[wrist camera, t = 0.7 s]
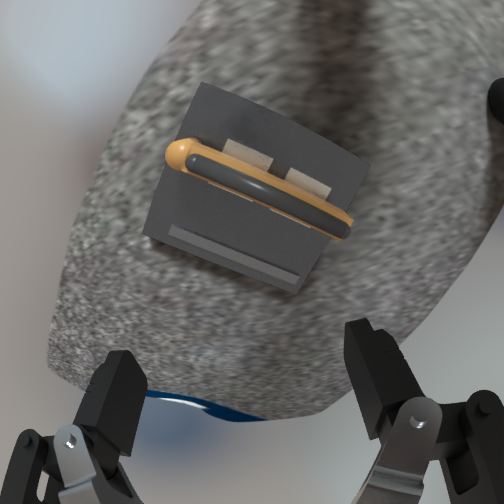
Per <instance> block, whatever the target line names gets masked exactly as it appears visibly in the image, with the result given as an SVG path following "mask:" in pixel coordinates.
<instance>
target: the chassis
mask: <svg viewBox="0 0 504 504" xmlns="http://www.w3.org/2000/svg"><path fill="white" fill-rule="evenodd" d="M190 137H193V138H196V139H198V140H200V141H201V143H202V145H205V146H207V147H210V148H212V149H215V150H217V151H219V152H222V153H224V154H227V155H229V156H231V157H234V158H236V159H238V160H240V161H243V162H245V163H247V164H250V165H252V166H254V167H256V168H258V169H261V170H263V171H265V172H267V173H269V174H271V175H274V176H276V177H278V178H280V179H282V180H284V181H286V182H288V183H290V184H292V185H294V186H297V187H299V188H301V189H303V190H305V191H307V192H309V193H311V194H313V195H315V196H317V197H318V198H320V199H322V200H324V201H326V202H328V203H330V204H332V205H334V206H336V207H338V208H339V209H341V210H343V211H344V212H346V210H347V209H348V207H349V205H350V203H351V201H352V200H353V198H354V196H355V194H356V192H357V191H358V189H359V187H360V185H361V183H362V181H363V179H364V178H365V176H366V174H367V172H368V170H369V168H370V166H371V165H369V164H368V163H366V162H365V161H363V160H361V159H360V158H358V157H357V156H355V155H353V154H352V153H350V152H348V151H347V150H345V149H343V148H342V147H340V146H338V145H337V144H335V143H333V142H331V141H330V140H328V139H326V138H324V137H323V136H321V135H319V134H317V133H315V132H313V131H312V130H310V129H308V128H306V127H304V126H302V125H300V124H298V123H296V122H294V121H292V120H290V119H288V118H286V117H284V116H282V115H280V114H278V113H276V112H274V111H272V110H270V109H267V108H265V107H263V106H261V105H259V104H256V103H254V102H252V101H249V100H247V99H245V98H242V97H240V96H238V95H235V94H233V93H230V92H228V91H225V90H223V89H220V88H217V87H215V86H212V85H209V84H207V83H204V82H201V84H200V86H199V88H198V90H197V92H196V94H195V96H194V98H193V100H192V103H191V105H190V107H189V109H188V111H187V114H186V116H185V118H184V120H183V123H182V125H181V127H180V130H179V132H178V134H177V137H176V139H175V141H178V140H182V139H186V138H190ZM142 234H144V235H146V236H149V237H151V238H153V239H156V240H158V241H161V242H163V243H166V244H168V245H171V246H173V247H175V248H178V249H180V250H183V251H185V252H188V253H190V254H193V255H195V256H198V257H200V258H203V259H205V260H208V261H210V262H213V263H215V264H218V265H221V266H223V267H226V268H228V269H231V270H233V271H236V272H238V273H241V274H244V275H246V276H249V277H251V278H254V279H257V280H259V281H262V282H264V283H267V284H270V285H272V286H275V287H278V288H280V289H283V290H286V291H288V292H291V293H294V294H296V293H297V292H298V290H299V289H300V287H301V286H302V284H303V282H304V281H305V279H306V278H307V276H308V274H309V273H310V271H311V270H312V268H313V266H314V265H315V263H316V261H317V260H318V258H319V256H320V255H321V253H322V251H323V250H324V248H325V246H326V245H327V243H328V241H329V240H330V238H331V237H330V236H328V235H326V234H324V233H322V232H320V231H318V230H316V229H314V228H311V227H309V226H307V225H305V224H303V223H301V222H299V221H296V220H294V219H292V218H290V217H288V216H286V215H283V214H281V213H279V212H277V211H275V210H272V209H270V208H268V207H266V206H264V205H261V204H259V203H257V202H255V201H252V200H250V199H248V198H245V197H243V196H241V195H238V194H236V193H234V192H231V191H229V190H227V189H224V188H222V187H220V186H217V185H215V184H213V183H210V182H208V181H205V180H203V179H200V178H198V177H196V176H193V175H191V174H188V173H186V172H183V171H181V170H175V169H173V168H171V167H170V166H169V165H168V163H167V162H166V164H165V167H164V170H163V172H162V175H161V178H160V181H159V183H158V186H157V189H156V192H155V195H154V198H153V201H152V204H151V207H150V210H149V213H148V216H147V219H146V222H145V226H144V229H143V232H142Z"/></svg>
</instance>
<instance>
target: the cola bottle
mask: <svg viewBox="0 0 504 504" xmlns="http://www.w3.org/2000/svg"><path fill="white" fill-rule="evenodd" d="M489 99H490V105H491V108H492V111H493V113H494V115H495V117H496V118H497V119H498V120H499V121H500V122H501V123H502V124H503V125H504V78H500V79H497V80H495V81H494V82H493V83H492V85H491V87H490V91H489Z"/></svg>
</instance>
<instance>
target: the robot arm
mask: <svg viewBox="0 0 504 504" xmlns="http://www.w3.org/2000/svg"><path fill="white" fill-rule="evenodd" d="M344 361H345V365H346V368H347V371H348V374H349V377H350V380H351V383H352V386H353V389H354V392H355V395H356V398H357V401H358V404H359V407H360V410H361V413H362V417H363V419H364V423H365V426H366V429H367V432H368V436H369V439H370V440H373V439H376V438H379V440H380V443H381V449H380V451H379V453H378V455H377V457H376V459H375V461H374V463H373V465H372V467H371V469H370V471H369V473H368V475H367V477H366V479H365V481H364V482H363V484H362V486H361V488H360V490H359V492H358V493H357V495H356V496H355V498H354V499H353V501H352V503H351V504H418V503H419V500H420V498H421V495H422V493H423V489H424V484H423V478H424V475H425V472H426V470H427V467H428V464H429V461H432V460H439V461H440V465H441V468H442V472H443V475H444V479H445V482H446V486H447V490H448V494H449V498H450V502H451V504H504V406H503V404H502V402H501V400H500V399H499V397H498V396H497V395H496V394H495V393H493V392H491V391H489V390H479V391H477V392H475V393H473V394H472V395H471V396H470V398H469V399H468V401H467V402H459V403H451V404H438V403H436V402H435V401H434V400H432V399H430V398H427V397H426V396H425V395H424V394H423V392H422V390H421V388H420V386H419V384H418V382H417V381H416V379H415V377H414V375H413V373H412V371H411V369H410V367H409V365H408V363H407V361H406V360H405V359H404V356H403V354H402V352H401V351H400V350H399V347H398V345H397V343H396V341H395V339H394V338H393V337H392V336H391V335H390V334H389V333H387V332H386V331H385V330H383V329H379V330H375V331H374V330H373V328H372V326H371V324H370V322H369V321H368V319H367V318H363V319H359V320H355V321H350V322H346V323H345V335H344ZM147 387H148V384H147V378H146V375H145V374H144V372H143V371H142V369H141V367H140V366H139V364H138V363H137V361H136V359H135V358H134V356H133V355H132V353H131V352H130V351H129V350H117V351H110V352H109V354H108V356H107V358H106V360H105V362H104V363H102V364H101V365H100V366H99V367H98V369H97V370H96V371H95V372H94V374H93V376H92V378H91V380H90V385H88V387H87V390H86V393H85V394H84V397H83V399H82V402H81V404H80V406H79V409H78V411H77V414H76V417H75V419H74V421H73V424H70V425H65V426H63V427H61V428H60V429H59V430H58V432H57V433H56V434H55V436H45V437H42V436H40V435H39V434H38V433H37V432H36V431H35V430H33V429H27V430H24V431H23V432H22V433H21V434H20V435H19V437H18V439H17V442H16V445H15V447H14V450H13V453H12V456H11V459H10V462H9V465H8V469H7V473H6V475H5V479H4V483H3V487H2V491H1V495H0V504H144V503H143V502H142V501H141V500H140V498H139V497H138V495H137V493H136V492H135V490H134V488H133V486H132V485H131V483H130V481H129V479H128V477H127V475H126V473H125V471H124V469H123V467H122V465H121V463H120V462H119V461H118V460H119V455H122V456H128V457H130V456H131V452H132V448H133V443H134V439H135V435H136V431H137V427H138V423H139V419H140V414H141V411H142V407H143V403H144V399H145V396H146V392H147ZM41 471H44V472H45V473H46V474H48V475H49V479H48V483H47V487H46V492H45V496H44V500H43V501H42V502H41V501H40V500H39V499H38V497H37V494H36V492H37V487H38V483H39V479H40V475H41Z"/></svg>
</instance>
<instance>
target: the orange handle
mask: <svg viewBox="0 0 504 504" xmlns="http://www.w3.org/2000/svg"><path fill="white" fill-rule="evenodd" d="M165 158H166V161H167V163H168V165H169V166H170V167H171V168H173V169H175V170H181V171H183V172H186V173H188V174H191V175H193V176H196V177H198V178H200V179H203V180H205V181H208V182H210V183H213V184H215V185H217V186H220V187H222V188H224V189H227V190H229V191H231V192H234V193H236V194H238V195H241V196H243V197H245V198H248V199H250V200H252V201H255V202H257V203H259V204H261V205H264V206H266V207H268V208H270V209H272V210H275V211H277V212H279V213H281V214H283V215H286V216H288V217H290V218H292V219H294V220H296V221H299V222H301V223H303V224H305V225H307V226H309V227H311V228H314V229H316V230H318V231H320V232H322V233H324V234H326V235H328V236H330V237H332V238H334V239H336V240H338V241H340V242H341V241H342V240H343V239H344V238H347V237H348V236H349V234H350V226H351V224H352V223H353V221H354V220H353V219H352V218H351V217H350V216H349V215H348V214H347V213H345V212H344V211H343V210H341V209H339V208H338V207H336V206H334V205H332V204H330V203H328V202H326V201H324V200H322V199H320V198H318V197H317V196H315V195H313V194H311V193H309V192H307V191H305V190H303V189H301V188H299V187H297V186H294V185H292V184H290V183H288V182H286V181H284V180H282V179H280V178H278V177H276V176H274V175H271V174H269V173H267V172H265V171H263V170H261V169H258V168H256V167H254V166H252V165H250V164H247V163H245V162H243V161H240V160H238V159H236V158H234V157H231V156H229V155H227V154H224V153H222V152H219V151H217V150H215V149H212V148H210V147H207V146H205V145H202V143H201V141H200V140H198V139H196V138H193V137H190V138H186V139H182V140H178V141H175V142H173V143H171V144H170V145H169V146H168V148H167V150H166V154H165Z"/></svg>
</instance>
